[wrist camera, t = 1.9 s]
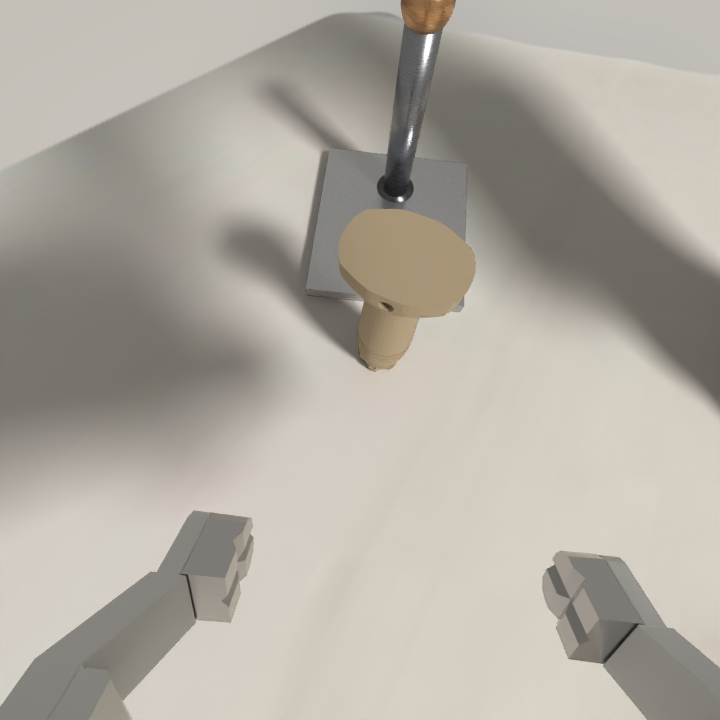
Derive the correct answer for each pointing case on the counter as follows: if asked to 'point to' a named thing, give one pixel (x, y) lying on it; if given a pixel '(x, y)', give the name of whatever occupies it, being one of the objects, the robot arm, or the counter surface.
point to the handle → (401, 277)
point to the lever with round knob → (413, 86)
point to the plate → (365, 191)
